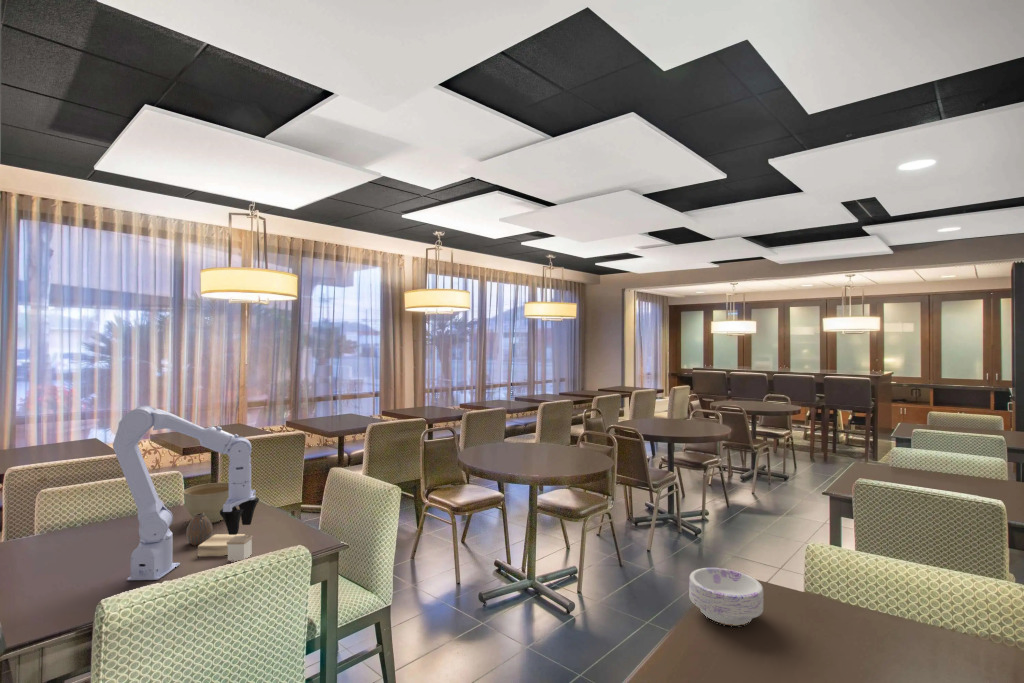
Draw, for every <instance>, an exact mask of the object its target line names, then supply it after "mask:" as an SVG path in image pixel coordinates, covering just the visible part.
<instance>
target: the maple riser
mask: <svg viewBox="0 0 1024 683" xmlns="http://www.w3.org/2000/svg"><path fill="white" fill-rule="evenodd" d="M235 536H246V533H238V534H237V535H229V533H223V534H221V533H220V534H218V533H216V534H213V535H211V538H209V539H208V540H206V541H205V542H203V543H202V544H200V545H197V557H198V556H199V557H222V556H221V555H228V544H227V542H228V541H229V540H230V539H232V538H233V537H235Z"/></svg>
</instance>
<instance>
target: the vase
mask: <svg viewBox="0 0 1024 683" xmlns="http://www.w3.org/2000/svg"><path fill="white" fill-rule="evenodd" d="M185 533H186V534H185V536H186V537H185V538H186V540H187V542H189V544H191V545H192V546H199V545H200V544H202V543H203V542H205V541H206V540H208V539H209V538H211V537H212V536H213V523H211V521H210V520H209V519H208V518H207V517H206V516H205V514H204V513H197V514H195V516H194V518H193V517H192V519H191V520H190V522H189V523H188V524H187V528H186V532H185Z"/></svg>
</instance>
